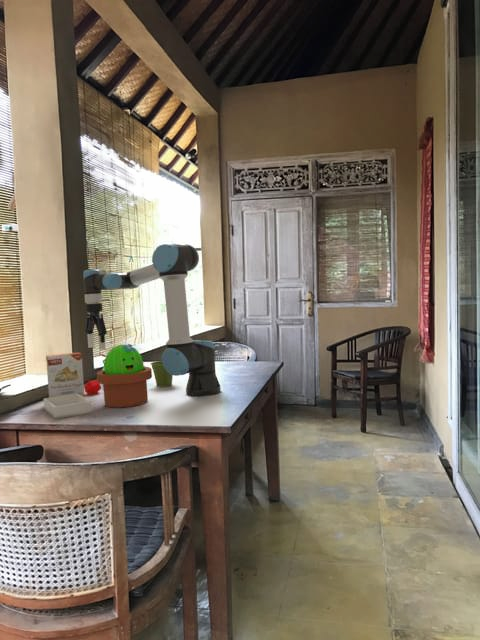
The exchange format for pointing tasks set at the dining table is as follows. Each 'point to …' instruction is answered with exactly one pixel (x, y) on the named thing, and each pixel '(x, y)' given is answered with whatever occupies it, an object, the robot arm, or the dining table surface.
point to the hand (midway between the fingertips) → (96, 348)
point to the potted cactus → (124, 377)
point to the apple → (92, 387)
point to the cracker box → (65, 374)
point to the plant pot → (161, 374)
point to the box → (67, 405)
